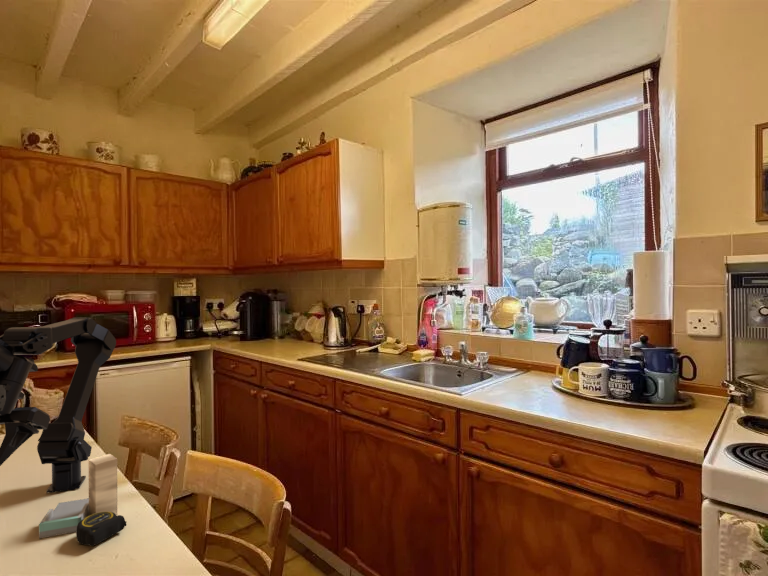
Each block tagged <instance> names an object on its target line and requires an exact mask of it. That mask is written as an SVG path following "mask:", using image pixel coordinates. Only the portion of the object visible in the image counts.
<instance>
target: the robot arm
mask: <svg viewBox="0 0 768 576" xmlns="http://www.w3.org/2000/svg"><path fill="white" fill-rule="evenodd" d="M3 332H4V333H3V334H1V335H0V425H4V427H5V428H4V429H5V434H4V437H3V440H2V441H1V444H0V467H1V466H2V465H3V464H4V463H5V462H6V461H7V460H8V459H9V458H10V457H11V456H12V454H14V453H15V452H16V451H17V450H18V449H19V448H20V447H21V446H22V445H23V444H24V443H25V442H27V441H28V440H29V439H30V438H31V437H33V436H34V435H37V434H39V433H40V430H42V432H41V434H40V437H39V438H38V440H37V442H38V443H37V447H36V450H37V451H36V452H37V454H38V456H39V459H40V463H41V465H47V464H51V484H50V486H49V487H48V488H47V489H46V494H49V493H50V494H51V493H56V492H63V491H70V490H77V489H80V488H81V486H82V485H83V483H84V481H85V480H86V478H87V477H86V475H82V462H85V461H88V460H89V457H91V453H92V446H91V445H90V444H89V443H88V442H87V441H86V440H85V436H86V431H85V429H84V425H83V423H82V421H83V418H84V415H85V412H86V409H87V406H88V403H89V399H90V397H91V395H92V391H93V388H94V385H95V382H96V379H97V376H98V373H99V370H100V368H101V366H102V365H104V364H105V363H106V362H107V361H108V360H110V358H111V356H112V354H113V351H114V350H115V348H116V346H117V339H116V337H115V336H114V335H113V333H112V332H111V331H110V330H109V329H108V328H105V326H102V325H100V324H98V323H97V322H96V321H95V319H93V318H91V317H72V318H69V319H67V320H63V321H59V322H54V323H51V324H50V323H49V324H47V325H44V326H37V327H35V326H33V327H21V326H20V327H8V328H6V329H5V330H4V331H3ZM68 339H70V342H71V344H72V345H74V346H75V350H74V354H75V357H76V359H77V361H78V362H77V365H76V368H75V370H74V372H73V373H74V374H73V376H72V379H71V381H70V384H69V387H68V389H67V391H66V392H67V393H66V395H65V397H64V401H63V402H62V406H61V409H60V412H59V414H58V417H57V418H56V419H55V420H54V421H53V422H52V423H51V418H50V415H49V413H47V412H45V411H43V410H42V409H41V408H37V406H28V407H27V406H23V407H18V406H17V402H18V400H23V399H24V398H25V396H26V394H25V393H24V392H22V391H23V389H24V386H25V383H26V381H27V380H28V379H27V378H28V376H29V373H31V372H38V370H39V367H38V365H37V364H36V362H35V360H34V358H27V357H24V356H23V355H25V356H26V355H27V356H28V355H33V356H34V355H35V356H36V355H37V356H38V355H42V354H43V353H46V352H47V351H48V350H51V349H52V348H53V345H54V344H55V343H58V342H61V341H64V340H68ZM16 406H17V407H16Z"/></svg>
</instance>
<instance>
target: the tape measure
mask: <svg viewBox="0 0 768 576" xmlns="http://www.w3.org/2000/svg"><path fill="white" fill-rule="evenodd" d="M125 527H127V521H126V519H125V517H124V516H123V515H120V514H118V515H116V514H115V513H113V512H99V513H95V514H92V515H90V516H88V517H86V518H84V519H83V520H81V521H80V522H79V523H78V525H77V532H75V534H76V540H77V543H79V544H80V545H86V546H96V545H97V544H99V543H102V542H104V541H105V540H107V539H109V538H110V537H112V536H113V535H116V534H117V533H120V532H121V531H122V530H125Z"/></svg>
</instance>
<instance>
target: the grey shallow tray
mask: <svg viewBox="0 0 768 576" xmlns="http://www.w3.org/2000/svg"><path fill="white" fill-rule="evenodd" d="M88 516H89V497H88V498H87V497H86V498H82V499H75V500H68V501H63V502H62V501H61V502H58V503H57V505H56V506H55V508H49V509H48V511H47V512H46V513H45V515H44V516H43V518H42V519H41V521H40V522H39V523H38V539H43V538H48V537H49V538H50V537H54V536H55V537H56V536H59V535H65V534H72V533H76V532H77V525H78V523H79V522H80V521H81V520H83V519H84V518H86V517H88Z"/></svg>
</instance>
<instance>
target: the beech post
mask: <svg viewBox="0 0 768 576" xmlns="http://www.w3.org/2000/svg"><path fill="white" fill-rule="evenodd" d="M87 461H88V498H89V516H90V515H92V514H95V513H99V512H113V513H115V514H116V516H118V515H119V514H118V458H117V457H116V456H114V455H113V454H111V453H107V454H103V455H100V456H97V457H93V458H90V459H89V458H88V460H87Z"/></svg>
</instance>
